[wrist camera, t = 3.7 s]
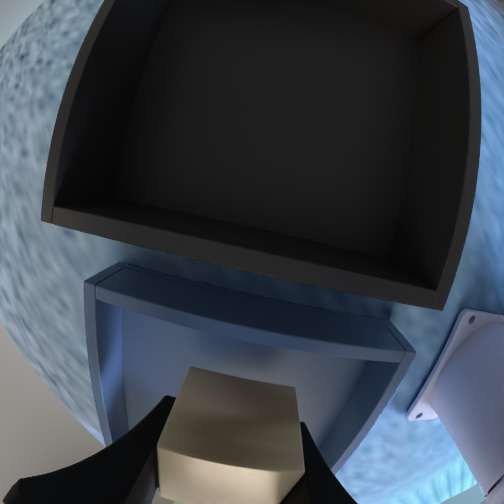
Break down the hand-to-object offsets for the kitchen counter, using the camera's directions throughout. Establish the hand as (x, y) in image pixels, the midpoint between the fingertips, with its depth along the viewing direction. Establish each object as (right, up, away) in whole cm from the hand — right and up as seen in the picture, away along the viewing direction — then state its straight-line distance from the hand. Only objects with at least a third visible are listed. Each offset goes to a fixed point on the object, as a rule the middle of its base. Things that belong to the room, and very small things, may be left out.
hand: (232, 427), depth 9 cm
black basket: (+2, +13, +1) cm, 13 cm away
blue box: (-1, -2, +5) cm, 5 cm away
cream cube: (0, 0, +1) cm, 1 cm away
